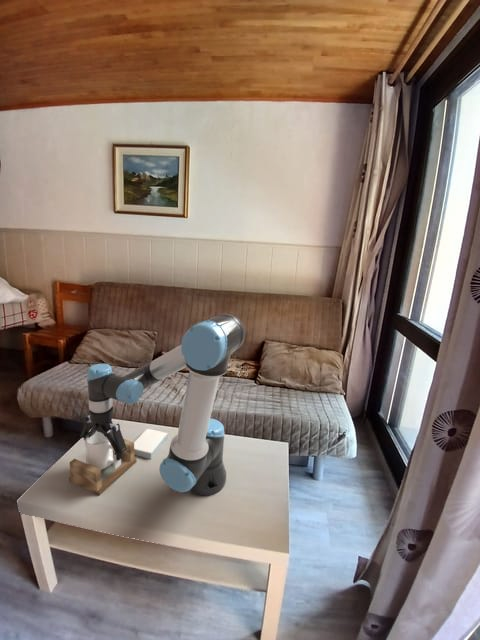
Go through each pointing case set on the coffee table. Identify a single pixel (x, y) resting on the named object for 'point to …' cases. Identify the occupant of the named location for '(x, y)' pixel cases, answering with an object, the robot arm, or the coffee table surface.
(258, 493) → the coffee table surface
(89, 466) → the cradle
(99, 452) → the mug
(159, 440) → the white rectangular block
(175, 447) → the robot arm
